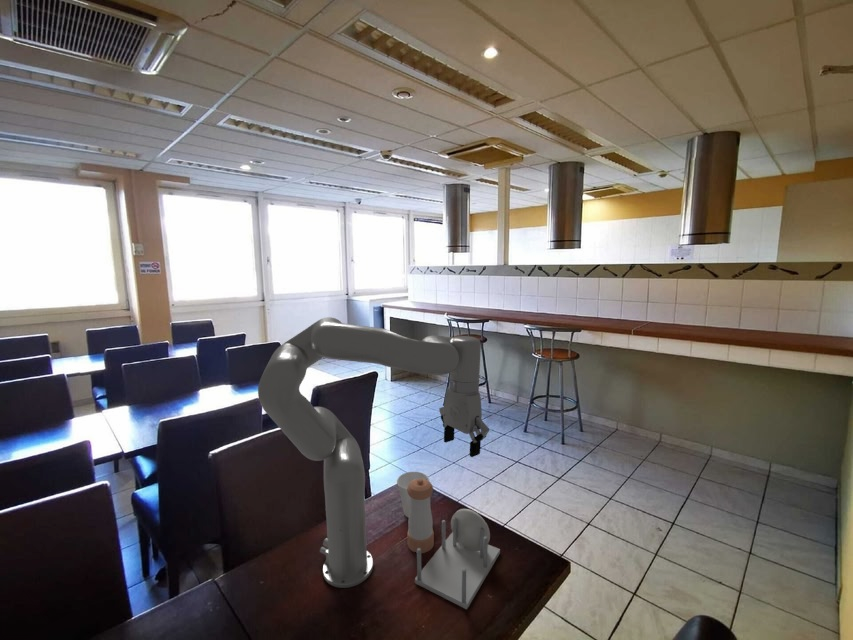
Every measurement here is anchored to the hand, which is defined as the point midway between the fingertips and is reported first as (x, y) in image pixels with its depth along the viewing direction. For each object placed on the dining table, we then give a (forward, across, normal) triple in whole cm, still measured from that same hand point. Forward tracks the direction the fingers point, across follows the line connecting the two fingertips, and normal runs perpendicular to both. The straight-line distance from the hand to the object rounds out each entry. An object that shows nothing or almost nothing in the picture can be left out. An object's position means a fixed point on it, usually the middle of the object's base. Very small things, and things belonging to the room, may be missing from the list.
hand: (461, 447), depth 104 cm
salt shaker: (+29, -7, -7) cm, 31 cm away
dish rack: (+29, +6, -5) cm, 30 cm away
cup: (+29, -19, 0) cm, 35 cm away
